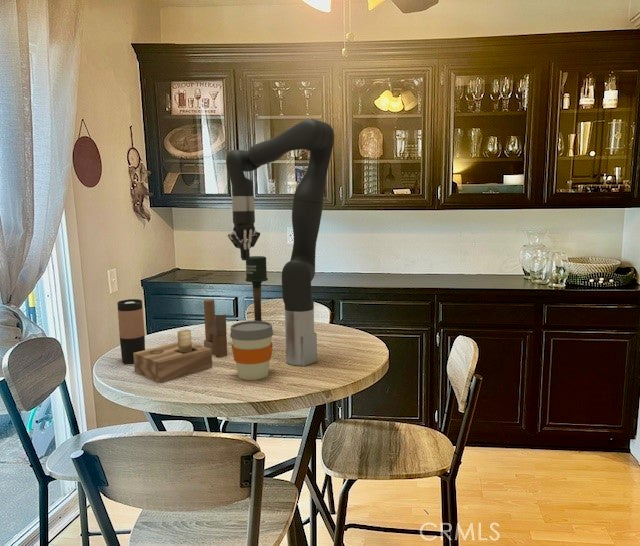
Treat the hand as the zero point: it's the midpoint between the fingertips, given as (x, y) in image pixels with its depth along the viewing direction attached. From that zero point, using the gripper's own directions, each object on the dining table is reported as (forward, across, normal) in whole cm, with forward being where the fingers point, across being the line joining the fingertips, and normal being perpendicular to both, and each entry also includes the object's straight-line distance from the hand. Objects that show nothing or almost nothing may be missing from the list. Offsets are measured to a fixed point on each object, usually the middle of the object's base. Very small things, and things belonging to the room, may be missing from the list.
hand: (245, 260), depth 178 cm
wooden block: (+31, -12, +3) cm, 34 cm away
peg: (+31, -28, -4) cm, 42 cm away
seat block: (+31, -31, -2) cm, 44 cm away
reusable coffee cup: (+31, -18, -24) cm, 43 cm away
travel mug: (+31, -35, +16) cm, 50 cm away
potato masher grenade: (+31, +14, +11) cm, 36 cm away
